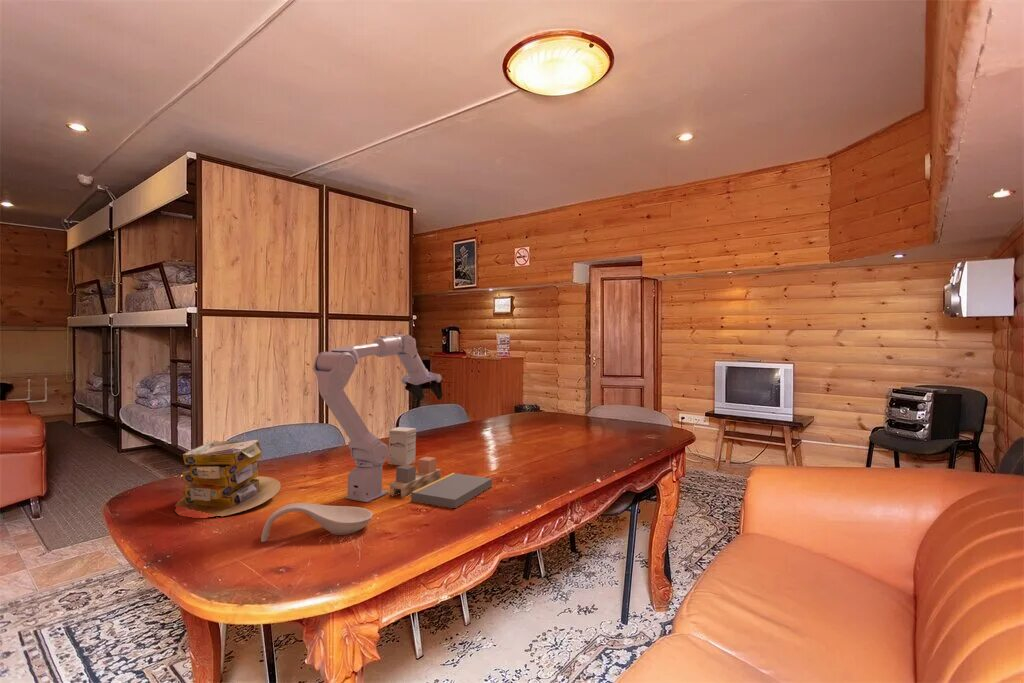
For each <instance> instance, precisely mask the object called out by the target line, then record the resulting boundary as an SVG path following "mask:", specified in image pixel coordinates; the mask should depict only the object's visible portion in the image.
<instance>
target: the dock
mask: <svg viewBox="0 0 1024 683" xmlns="http://www.w3.org/2000/svg"><path fill="white" fill-rule="evenodd" d="M491 486H493V478H489V477H483V476H476V475H469V474H462V473H461V474H460V473H456V472H451V473H449V474H447V475H445V476H443V477H441V479H439V480H436V481H434V482H432V483H430V484H428V485H426V486H424V487H422V488H419V489H417V490H415V491H413V492H411V495H410V496H411V497H410V498H411V499H410V500H411V502H412V501H415V502H414V503H418V502H422V503H421V504H423V503H427V504H426V505H429V504H432V505H431V506H435V505H439V506H438V507H440V506H445V507H444V508H446V507H449V508H448V509H452V508H456V509H458V508H459V507H461V506H462V505H464V504H465V502H466V503H468V502H470V501H471V500H472V499H474V498H476V497H477V496H479V495H480V493H481V494H482V493H483V491H484V492H485V490H486V491H488V490H489V489H491V488H492V487H491ZM490 487H491V488H490ZM488 488H489V489H488ZM478 494H479V495H478ZM475 496H476V497H475ZM470 499H471V500H470ZM460 505H461V506H460ZM458 506H459V507H458Z"/></svg>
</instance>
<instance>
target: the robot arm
mask: <svg viewBox="0 0 1024 683" xmlns="http://www.w3.org/2000/svg"><path fill="white" fill-rule="evenodd" d="M373 355H375V356H376V357H377V358H385V357H390V356H395V355H397V356H398V358H399V360H400V362H401V364H402V366H403V368H404V369H405V371H406V373H407V375H403V376H402V378H401V379H400V381H401V384H402V385H405V387H404V389H405V390H406V391H408V392H410V393H411V394H413V395H414V396H415V397H416V398H417V399H418V400H419V401H422V400H423V399H424V397H425V396H424V393H423V390H422V388H421V386H420V385H423V384H426V383H428V382H430V383H429V385H428V388H429V389H430V390H431V391H432V392H433V393H434V395H435V397H436V398H437V399H438V400H441V399H442V398H443V396H444V395H443V390H442V380H443V377H442V376H441V374H440V373H434V372H431V371H429V370H428V368H426V366H425V364H424V363H423V361H422V359H421V357H420V355H419V353H418V349H417V341H416V338H414V337H413V336H411V335H410V334H397V333H394V334H393V333H392V335H390V336H387V335H386V334H385V335H384V334H383V335H379V337H377V338H375V339H374V340H373V342H372V343H366V344H363V343H362V344H356V345H348V346H343V347H337V348H331V349H330V350H329V351H321V352H320V353H318V354H317V356H316V358H315V359H314V363H313V366H312V370H313V372H314V373H315V375H316V378H317V386H318V391H319V394H320V397H321V398H322V400H323V401H324V402H325V404H326V405H327V407H328V409H329V410H330V411H331V413H332V414H333V416H334V418H335V420H336V421H337V422H338V424H339V425H340V426H341V428H342V429H343V432H345V434H346V436H347V438H348V439H349V442H348V444H347V446H348V449H349V451H350V455H351V456H350V457H351V459H353V460H354V465H355V467H354V468H353V469H352V470H350V471H349V472H348V476H347V495H345V497H344V498H345V499H347V500H353V501H358V502H364V503H369V502H371V501H374V500H375V499H378V498H380V497H382V496H384V495H387V494H389V493H390V490H389V491H388V490H383V466H384V465H385V463H386V461H387V459H388V458H389V446H388V444H386V443H385V442H383V441H381V439H380V438H379V437H378V436H377V435H375V434H374V433H372V432H370V430H369V428H368V427H367V425H366V424H365V422H364V421H363V419H362V418H361V416H360V414H359V413H358V411H357V409H356V408H355V406H354V405H353V403H352V402H351V400H350V398H349V397H348V395H347V393H346V392H345V390H344V389H345V388H346V387H347V385H348V383H349V381H350V379H351V377H352V375H354V374H353V373H354V371H355V370H356V365H359V363H360V362H359V359H360V358H364V357H370V356H373Z"/></svg>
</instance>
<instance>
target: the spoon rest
mask: <svg viewBox="0 0 1024 683" xmlns="http://www.w3.org/2000/svg"><path fill="white" fill-rule="evenodd" d="M291 512H300V513H303V514H306V515H308V516H309V517H311V518H312V519H313V520H314V521H315V522H316V523H318V524H319V525H320V526H321V527H322V529H323V528H324V529H325V530H326V531H328V532H329V533H331V534H333V535H338V536H345V535H350V534H353V533H356V532H358V531H360V530H361V529H363V528H364V527H366V525H368V524H369V522H371V520H372V518H373V516H374V515H373V512H372V511H371V510H370V509H367V508H363V507H358V506H350V505H349V506H348V505H325V504H318V503H309V502H297V503H296V502H294V503H288V504H286V505H283V506H281V507H279V508H277V509H276V510H274V511H273V512H272V513H271V514H270V515H269V516H268V517H267V519H266V522H265V523H264V526H263V529H262V531H261V536H260V542H261V543H265V542H266V541H267V540H268V539H269V536H270V531H271V528H272V525H273V523H274V522H275V520H277V519H278V518H279V517H281V516H284V515H285V514H288V513H291Z"/></svg>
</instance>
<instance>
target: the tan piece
mask: <svg viewBox="0 0 1024 683" xmlns="http://www.w3.org/2000/svg"><path fill="white" fill-rule="evenodd" d="M441 478H442V469H440V468H436V471H434V472H432V473H430V474H427V473H420V472H418V471H416V480H413V481H411V482H409V483H404V482H398V481H396V480H395V481H392V482H390V483H389V487H390V488H389V496H390V495H393V496H392V497H395V496H397V495H399V494H398V493H400V492H401V493H400V498H401V497H406V496H408V495H410V494H411V492H413V491H415V490H417V489H419V488H422V487H424V486H426V485H428V484H430V483H432V482H434V481H436V480H439V479H441ZM396 494H397V495H396ZM394 495H395V496H394ZM410 496H411V495H410ZM408 497H409V496H408ZM406 498H407V497H406Z"/></svg>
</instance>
